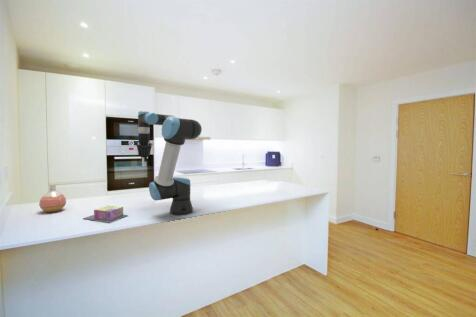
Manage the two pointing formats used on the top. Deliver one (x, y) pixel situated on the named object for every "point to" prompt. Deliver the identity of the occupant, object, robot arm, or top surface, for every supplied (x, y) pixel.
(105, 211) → the box
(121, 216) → the mat
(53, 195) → the vase
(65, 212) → the top surface
